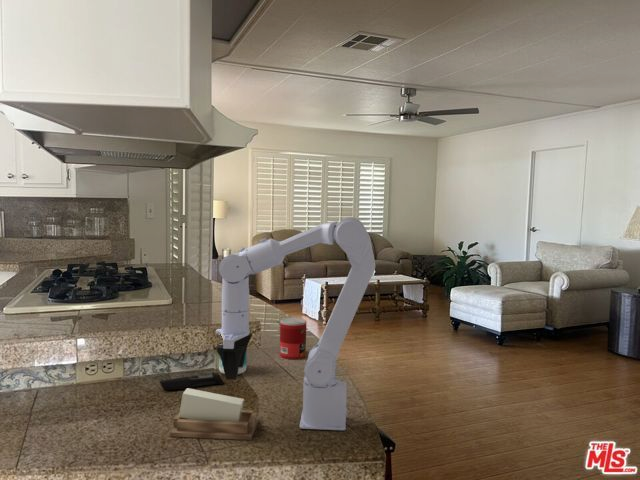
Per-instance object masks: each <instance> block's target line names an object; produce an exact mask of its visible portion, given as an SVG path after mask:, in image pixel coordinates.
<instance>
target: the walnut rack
mask: <svg viewBox="0 0 640 480" xmlns="http://www.w3.org/2000/svg"><path fill="white" fill-rule="evenodd" d="M179 413H180V410H179V411H178V413H177V414H176V415H175V417H174V418H173V428H172V429H171V430H170V432H169V437H173V438H175V437H176V438H194V439H195V438H198V439H216V440H217V439H218V440H219V439H221V440H222V439H223V440H241V441H243V440H244V441H252V439H253V435H254V434H255V430H256V428H257V425H258V422H259V416H258V413H257V412H254V410H252V409H242V413H241V419H240V422H238V421H215V420H192V419H185V418H180V417H179Z"/></svg>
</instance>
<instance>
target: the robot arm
mask: <svg viewBox="0 0 640 480" xmlns="http://www.w3.org/2000/svg"><path fill="white" fill-rule="evenodd" d="M335 242H336V244H337V245H338V246H339V248H341V250H342V251H343V252H344V253H345V254H346V257H347V259H348V261H349V263H350V266H351V267H350V270H349V272H348V275H347V277H346V279H345V282H344V284H343V286H342V288H341V291H340V293H339V295H338V297H337V300H336V302H335V305H334V307H333V309H332V311H331V314H330V315H329V319H328V321H327V323H326V326H325V327H324V330H323V332H322V334H321V336H320V338H319V340H318V341H317V344H315V346H313V347H312V348H311V349H310V351H309V352H308V356H307V360H306V363H305V365H304V368H303V370H304V377H303V386H302V392H303V393H302V394H303V395H302V411H301V417H300V421H299V429H302V430H303V429H305V430H326V431H327V430H329V431H346V429H347V428H346V424H347V423H346V422H347V418H348V408H347V395H348V394H347V392H348V391H347V390H348V389H347V382H346V381H341V380H339V379H338V377H337V376H336V364H337V359H338V357H339V354H340V352H341V349H342V348H341V347H342V344H343V343H344V340H345V338H346V336H347V334H348V331H349V329H350V326H351V325H352V322H353V320H354V317H355V315H356V313H357V311H358V308H359V306H360V304H361V302H362V300H363V298H364V295H365V293H366V290H367V288H368V286H369V283H370V281H371V279H372V277H373V274H374V272H375V270H376V260H375V256H374V251H373V246H372V240H371V236H370V234H369V231H367V229H366V227H365V225H364V224H363V222H362V221H361V220H360V219H358V218H356V217H353V216H349V217H345V218H342V220H340V221H339V220H334V221H329V222H325V223H321V224H318V225H316V226H313V227H312V228H309V229H306V230H305V231H303V232H300V233H297V234H295V235H293V236H291V237H289V238H286V239H283V240H281V241H278V240H276V239H274V238H269V239H267V237H265V238H261V239H260V240H259V243H257V244H254V245H251V246H249V247H247V248H245V247H242V248H239V249H238V251H239V252H234V253H229V254H228V255H227V256H225V257H224V258H223V259H222V260H221V261H220V263H219V267H218V270H219V275H220V276H221V278H222V279H221V280H222V282H221V283H222V284H221V285H222V288H221V328H217V329H216V330H215V334H216V335H220V334H221V336H222V338H223V344H219V343H218V344H217V346H216V352H217V354H218V355H219V356H220V358H221V361H222V364H223V368H224V373H225V374H224V377H225V380H237V377H238V375H239V374H238V369H239V367H243V364H244V360H245V354H246V350H248V346H249V343H250V341H251V339H252V337H253V333H251V331H250V329H249V327H250V326H249V325H250V320H249V319H250V287H249V284H250V283H249V280H250V279H249V278H250V277H249V275H257V274H259V273H262V272H265V271H266V270H269V269H271V268H274V267H278V266H280V265H281V264H282V263H283V261H284V260H285V257H286V256H287V255H290V254H292V253H296V252H298V251H302V250H304V249H306V248H309V247H312V246H314V245H315V246H316V245H317V244H322V245H323V244H324V245H331V246H333V245H334V244H335Z"/></svg>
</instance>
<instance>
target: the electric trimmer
mask: <svg viewBox="0 0 640 480" xmlns="http://www.w3.org/2000/svg"><path fill="white" fill-rule="evenodd" d="M159 384H160V386H161V388H162V389H163V390H164V391H167V390H168V391H169V390H170V391H171V390H172V391H174V390H186V389H187V388H190V389H192V388H193V387H194V388H195V387H203V386H210V385H219V386H221V385H223V384H224V381H223V379H222V377H221V375H220V373H219V372H211V373H208V374H200V375H191V376H182V377H175V378H170V379H163V380H159Z"/></svg>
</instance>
